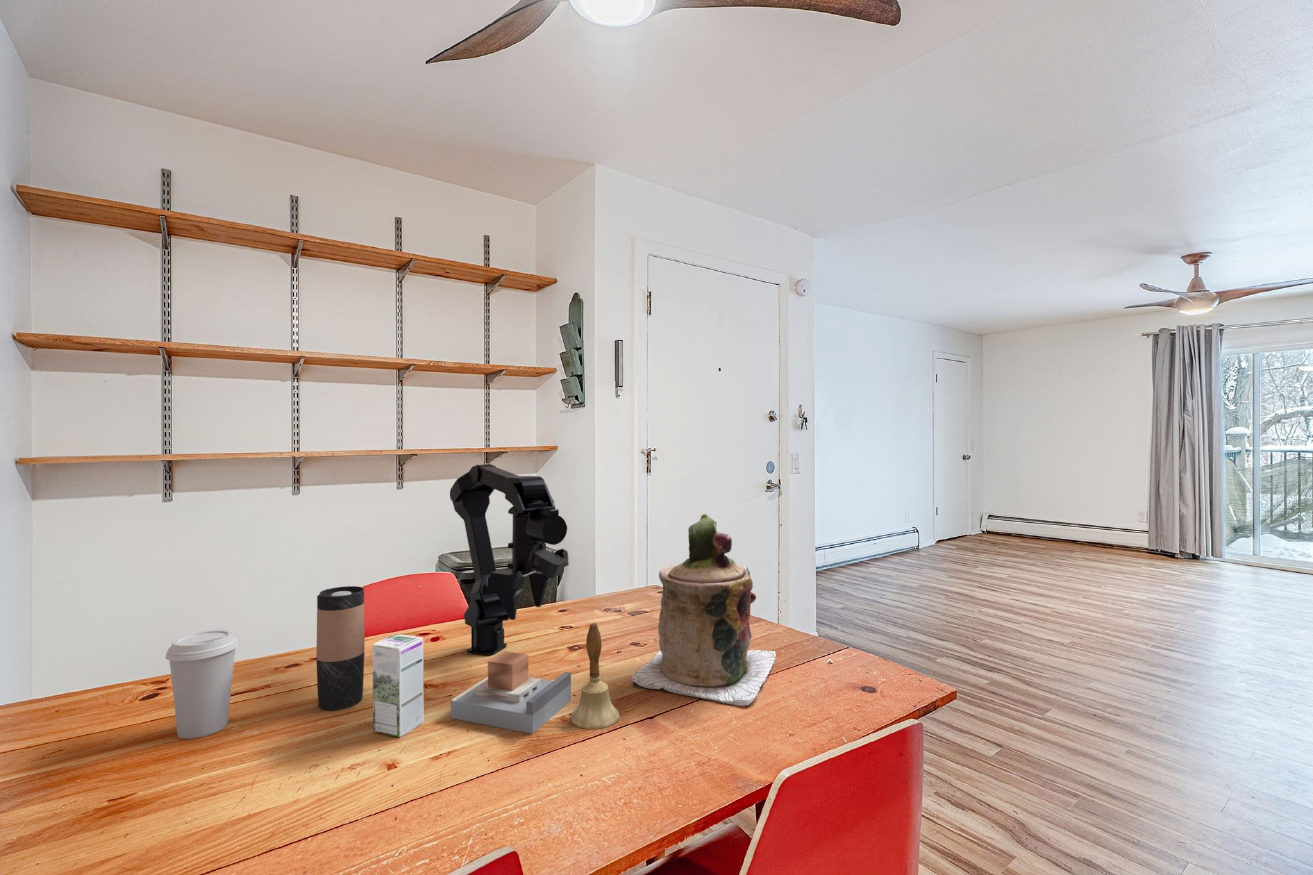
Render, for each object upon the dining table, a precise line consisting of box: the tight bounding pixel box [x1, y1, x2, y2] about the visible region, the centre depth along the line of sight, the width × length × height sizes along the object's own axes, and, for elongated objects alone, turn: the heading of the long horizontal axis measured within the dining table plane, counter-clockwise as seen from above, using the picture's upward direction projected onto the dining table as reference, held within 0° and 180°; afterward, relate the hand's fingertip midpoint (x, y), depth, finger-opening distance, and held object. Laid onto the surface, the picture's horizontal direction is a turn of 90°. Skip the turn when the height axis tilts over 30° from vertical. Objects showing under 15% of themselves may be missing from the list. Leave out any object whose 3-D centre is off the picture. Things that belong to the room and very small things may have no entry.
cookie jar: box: [630, 513, 777, 707], centre depth 118 cm, size 25×25×32 cm
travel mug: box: [315, 585, 365, 712], centre depth 105 cm, size 8×8×20 cm
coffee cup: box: [164, 629, 240, 740], centre depth 95 cm, size 10×10×15 cm
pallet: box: [475, 650, 542, 703], centre depth 103 cm, size 9×7×6 cm
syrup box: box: [372, 633, 425, 738], centre depth 96 cm, size 6×6×14 cm
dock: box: [450, 671, 572, 735], centre depth 102 cm, size 16×13×5 cm
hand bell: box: [570, 622, 620, 730], centre depth 99 cm, size 8×8×16 cm
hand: (525, 612), depth 120 cm, fingers open, 9 cm apart
